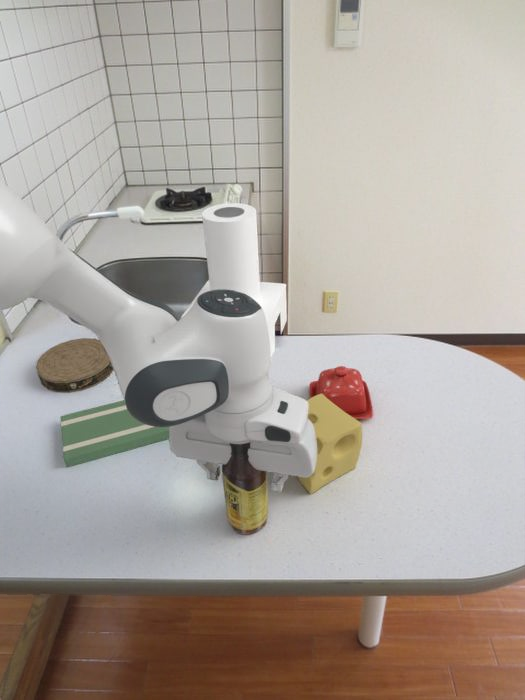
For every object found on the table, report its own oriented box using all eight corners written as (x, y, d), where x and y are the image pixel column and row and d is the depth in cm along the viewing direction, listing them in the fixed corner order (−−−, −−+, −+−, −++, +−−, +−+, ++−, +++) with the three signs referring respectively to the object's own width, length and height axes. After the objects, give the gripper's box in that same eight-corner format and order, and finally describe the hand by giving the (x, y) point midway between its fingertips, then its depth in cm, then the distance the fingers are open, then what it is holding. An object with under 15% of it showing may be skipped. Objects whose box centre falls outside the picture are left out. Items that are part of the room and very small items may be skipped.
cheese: (310, 496, 83) (311, 451, 77) (272, 456, 90) (270, 412, 85) (360, 468, 87) (364, 423, 82) (320, 431, 95) (321, 388, 89)
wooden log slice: (127, 353, 119) (125, 342, 117) (92, 397, 106) (88, 385, 104) (65, 345, 122) (62, 335, 121) (24, 387, 110) (19, 376, 108)
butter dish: (311, 424, 97) (311, 388, 92) (308, 385, 106) (309, 351, 101) (374, 423, 96) (377, 387, 91) (365, 384, 106) (368, 350, 101)
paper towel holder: (286, 320, 128) (284, 198, 111) (268, 365, 113) (262, 232, 96) (213, 313, 132) (201, 195, 115) (186, 355, 117) (167, 226, 100)
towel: (66, 467, 90) (63, 458, 89) (63, 424, 100) (60, 415, 99) (190, 432, 96) (189, 424, 95) (176, 394, 106) (174, 386, 104)
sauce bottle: (223, 509, 82) (210, 412, 70) (261, 499, 83) (255, 402, 72) (233, 544, 76) (222, 445, 65) (274, 532, 78) (270, 433, 67)
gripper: (153, 413, 67) (169, 486, 75) (312, 436, 62) (311, 512, 70) (172, 383, 72) (185, 455, 80) (320, 402, 67) (318, 476, 75)
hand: (245, 481), depth 75 cm, fingers open, 8 cm apart
